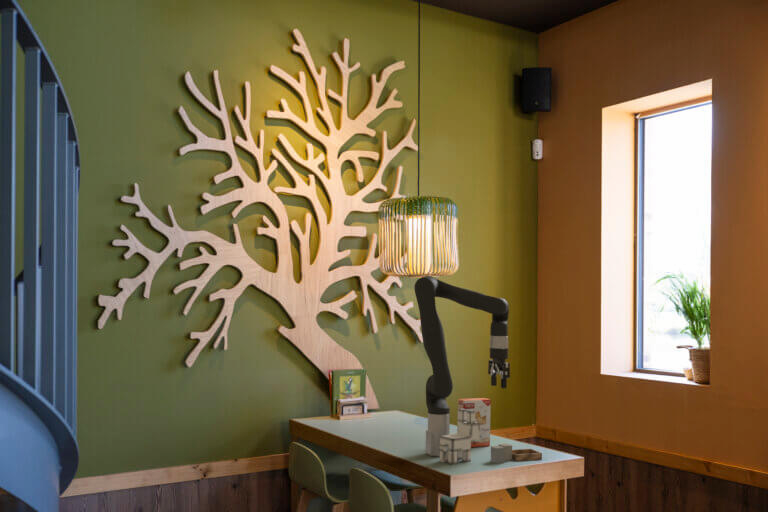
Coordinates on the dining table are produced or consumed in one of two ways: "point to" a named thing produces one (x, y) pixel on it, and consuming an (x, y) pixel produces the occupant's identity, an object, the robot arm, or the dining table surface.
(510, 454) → the beige grey block
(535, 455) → the bin
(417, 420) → the dining table surface
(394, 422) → the dining table surface
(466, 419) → the toy llama
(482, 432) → the cracker box
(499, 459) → the grey rectangular block
